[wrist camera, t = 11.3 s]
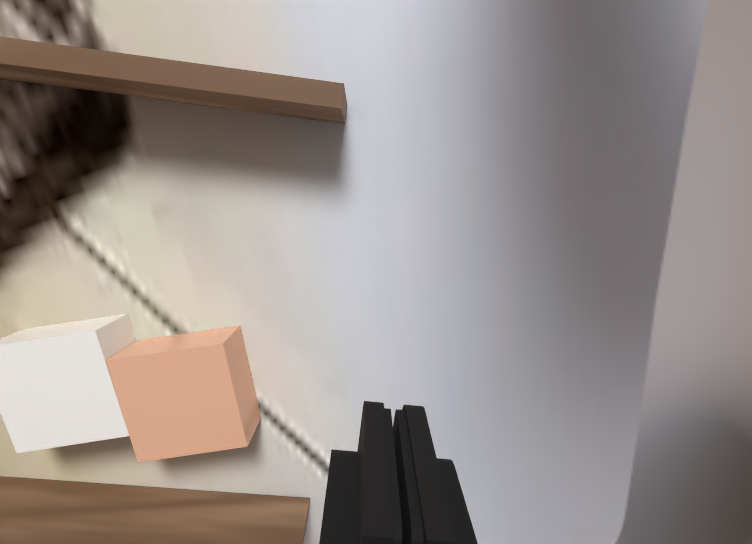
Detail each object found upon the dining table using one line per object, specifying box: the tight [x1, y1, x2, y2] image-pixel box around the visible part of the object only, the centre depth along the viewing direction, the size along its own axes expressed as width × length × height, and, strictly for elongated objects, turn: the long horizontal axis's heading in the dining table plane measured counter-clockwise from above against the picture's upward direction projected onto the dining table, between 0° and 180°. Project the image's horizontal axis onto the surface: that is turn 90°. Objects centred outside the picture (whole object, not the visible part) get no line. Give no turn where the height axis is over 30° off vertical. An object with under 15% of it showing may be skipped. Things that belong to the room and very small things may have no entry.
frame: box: [0, 37, 347, 544], centre depth 19 cm, size 25×22×4 cm
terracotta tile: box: [106, 326, 261, 463], centre depth 21 cm, size 6×6×3 cm
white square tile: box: [0, 314, 136, 453], centre depth 21 cm, size 6×6×3 cm
